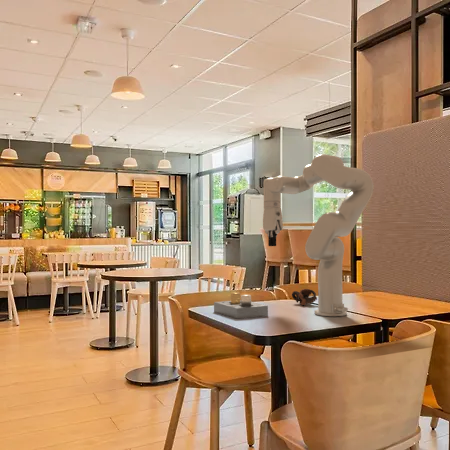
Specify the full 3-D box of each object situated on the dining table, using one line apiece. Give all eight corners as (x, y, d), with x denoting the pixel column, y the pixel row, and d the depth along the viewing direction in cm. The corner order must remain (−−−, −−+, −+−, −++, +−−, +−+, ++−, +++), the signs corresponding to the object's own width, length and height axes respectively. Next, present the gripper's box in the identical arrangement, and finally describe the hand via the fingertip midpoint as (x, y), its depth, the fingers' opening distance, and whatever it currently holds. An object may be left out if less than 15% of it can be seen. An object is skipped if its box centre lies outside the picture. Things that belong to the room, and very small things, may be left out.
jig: (267, 315, 187) (267, 295, 187) (236, 318, 180) (236, 297, 180) (243, 309, 204) (242, 290, 205) (214, 311, 198) (213, 292, 198)
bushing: (242, 312, 195) (242, 293, 195) (233, 313, 193) (233, 293, 193) (237, 311, 198) (237, 292, 199) (229, 312, 197) (229, 292, 197)
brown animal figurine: (317, 304, 221) (320, 290, 217) (311, 316, 213) (314, 301, 209) (293, 297, 225) (295, 282, 221) (286, 308, 218) (288, 293, 214)
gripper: (288, 204, 209) (288, 246, 208) (270, 206, 222) (270, 245, 222) (274, 204, 205) (274, 246, 205) (256, 206, 219) (256, 246, 218)
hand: (272, 246), depth 213 cm, fingers closed
